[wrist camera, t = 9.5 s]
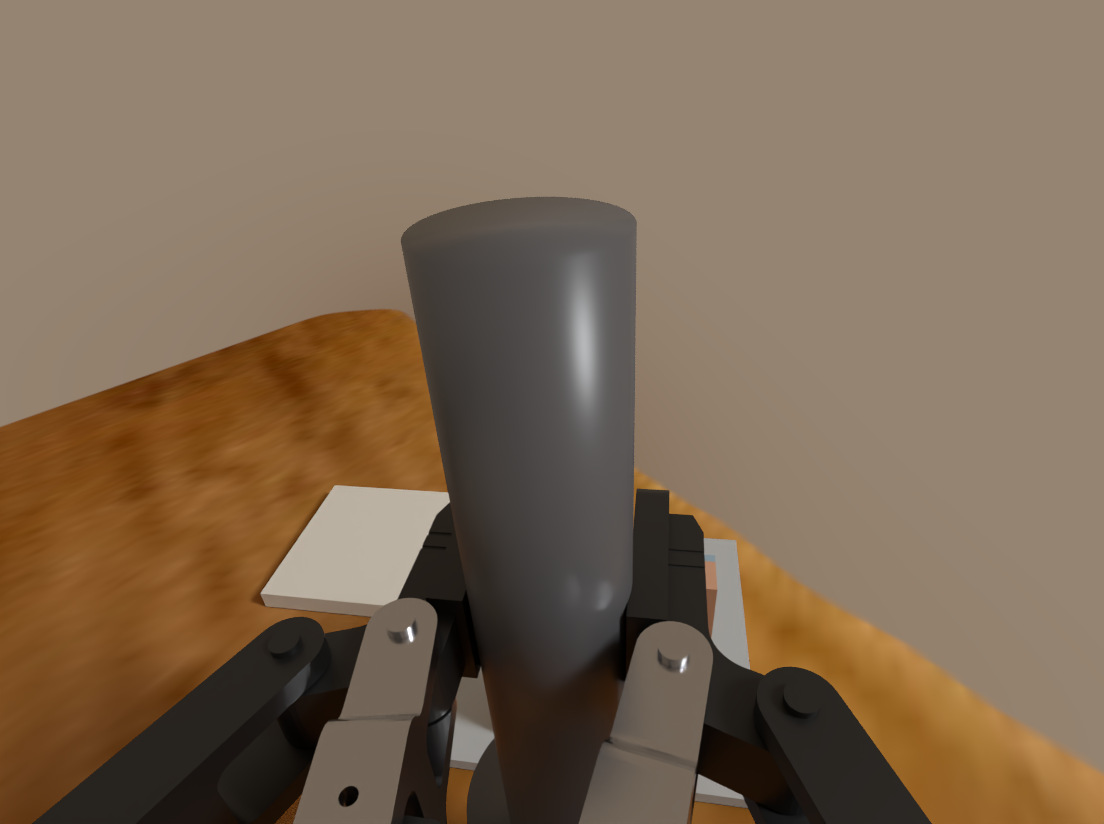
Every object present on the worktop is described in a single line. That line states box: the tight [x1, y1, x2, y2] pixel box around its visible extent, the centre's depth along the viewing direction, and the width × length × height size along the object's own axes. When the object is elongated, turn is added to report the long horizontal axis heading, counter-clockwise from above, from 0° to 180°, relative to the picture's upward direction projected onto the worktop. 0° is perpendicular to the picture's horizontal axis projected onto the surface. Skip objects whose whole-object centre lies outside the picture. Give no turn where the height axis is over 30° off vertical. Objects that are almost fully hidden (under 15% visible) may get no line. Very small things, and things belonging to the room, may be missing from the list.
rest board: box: [260, 485, 450, 617], centre depth 37 cm, size 11×9×1 cm
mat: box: [450, 538, 750, 808], centre depth 31 cm, size 13×14×1 cm
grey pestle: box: [401, 197, 636, 824], centre depth 13 cm, size 5×5×18 cm
